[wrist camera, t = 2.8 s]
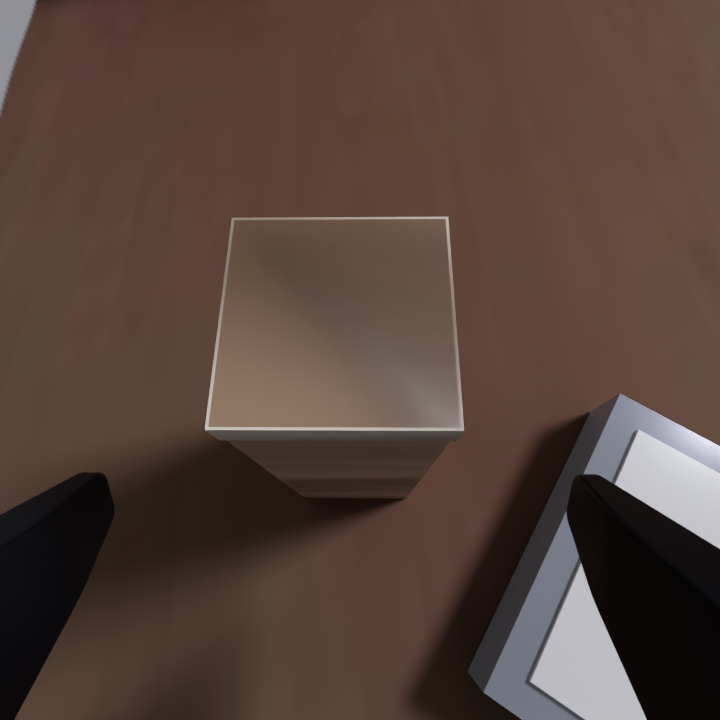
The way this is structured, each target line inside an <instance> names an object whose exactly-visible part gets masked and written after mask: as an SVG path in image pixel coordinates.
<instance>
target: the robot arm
mask: <svg viewBox="0 0 720 720" xmlns="http://www.w3.org/2000/svg"><path fill="white" fill-rule="evenodd" d="M566 513H567V520H568V524H569V527H570V530H571V533H572V536H573V539H574V542H575V545H576V548H577V552H578V555H579V558H580V561H581V564H582V567H583V570H584V573H585V576H586V579H587V582H588V585H589V588H590V591H591V594H592V597H593V599H594V602H595V604H596V606H597V609H598V611H599V614H600V616H601V618H602V620H603V622H604V625H605V627H606V629H607V631H608V634H609V636H610V638H611V640H612V643H613V645H614V647H615V649H616V652H617V654H618V656H619V658H620V661H621V663H622V665H623V667H624V670H625V672H626V674H627V676H628V679H629V681H630V683H631V685H632V688H633V690H634V692H635V694H636V697H637V699H638V701H639V703H640V706H641V708H642V710H643V712H644V715H645V717H646V719H647V720H720V549H719V548H718V547H716V546H714V545H713V544H711V543H709V542H708V541H706V540H704V539H703V538H701V537H700V536H698V535H696V534H695V533H693V532H691V531H690V530H688V529H687V528H685V527H683V526H682V525H680V524H678V523H677V522H675V521H674V520H672V519H670V518H669V517H667V516H665V515H664V514H662V513H660V512H659V511H657V510H656V509H654V508H652V507H651V506H649V505H647V504H646V503H644V502H643V501H641V500H639V499H638V498H636V497H634V496H633V495H631V494H630V493H628V492H626V491H625V490H623V489H621V488H620V487H618V486H616V485H615V484H613V483H612V482H610V481H608V480H607V479H605V478H603V477H602V476H600V475H597V474H578V475H576V476H575V477H574V479H573V481H572V486H571V490H570V495H569V499H568V504H567V511H566ZM113 517H114V503H113V499H112V496H111V492H110V489H109V485H108V481H107V478H106V476H105V475H104V474H102V473H99V472H84V473H79V474H77V475H75V476H73V477H71V478H69V479H67V480H65V481H64V482H62V483H60V484H58V485H56V486H54V487H52V488H50V489H48V490H47V491H45V492H43V493H41V494H39V495H37V496H35V497H33V498H31V499H29V500H28V501H26V502H24V503H22V504H20V505H18V506H16V507H14V508H12V509H11V510H9V511H7V512H5V513H3V514H1V515H0V720H14V719H15V717H16V715H17V714H18V712H19V710H20V708H21V706H22V704H23V702H24V701H25V699H26V697H27V695H28V693H29V691H30V689H31V687H32V686H33V684H34V682H35V680H36V678H37V676H38V674H39V673H40V671H41V669H42V667H43V665H44V663H45V661H46V660H47V658H48V656H49V654H50V652H51V650H52V648H53V646H54V645H55V643H56V641H57V639H58V637H59V635H60V633H61V632H62V630H63V628H64V626H65V624H66V622H67V620H68V619H69V617H70V615H71V613H72V611H73V609H74V607H75V605H76V603H77V601H78V599H79V597H80V596H81V594H82V591H83V589H84V587H85V585H86V583H87V580H88V578H89V575H90V573H91V571H92V568H93V566H94V563H95V561H96V559H97V556H98V554H99V551H100V549H101V547H102V544H103V542H104V539H105V537H106V535H107V532H108V530H109V527H110V525H111V522H112V520H113Z"/></svg>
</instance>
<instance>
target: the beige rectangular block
mask: <svg viewBox="0 0 720 720" xmlns="http://www.w3.org/2000/svg"><path fill="white" fill-rule="evenodd" d="M205 431H207V432H208V433H209V434H211V435H212V436H214V437H215V438H217V439H218V440H219V441H228V442H229V443H230V444H232V445H233V446H235V447H236V448H237V449H239V450H240V451H241V452H243V453H244V454H245V455H247V456H248V457H249V458H251V459H252V460H253V461H255V462H256V463H258V464H259V465H260V466H262V467H263V468H264V469H266V470H267V471H268V472H270V473H271V474H272V475H274V476H275V477H277V478H278V479H279V480H281V481H282V482H283V483H285V484H286V485H287V486H289V487H290V488H291V489H293V490H294V491H295V492H297V493H298V494H300V495H301V496H302V497H304V498H405V499H406V497H407V496H408V495H409V493H410V492H411V491H412V490H413V488H414V487H415V486H416V484H417V483H418V482H419V481H420V479H421V478H422V477H423V475H424V474H425V473H426V472H427V470H428V469H429V468H430V466H431V465H432V464H433V463H434V461H435V460H436V459H437V457H438V456H439V455H440V454H441V452H442V451H443V450H444V449H445V447H446V446H447V445H448V443H449V442H450V441H456V440H457V439H458V438H459V436H460V435H461V434H462V433H463V432H464V423H463V409H462V396H461V382H460V369H459V356H458V342H457V329H456V315H455V302H454V289H453V275H452V262H451V249H450V235H449V222H448V217H309V218H232V222H231V230H230V237H229V245H228V253H227V261H226V268H225V276H224V284H223V292H222V299H221V307H220V315H219V323H218V330H217V338H216V346H215V354H214V361H213V369H212V377H211V385H210V392H209V400H208V408H207V416H206V423H205Z"/></svg>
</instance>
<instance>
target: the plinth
mask: <svg viewBox="0 0 720 720" xmlns="http://www.w3.org/2000/svg"><path fill="white" fill-rule="evenodd" d="M578 474H597V475H600V476H602V477H603V478H605V479H607V480H608V481H610V482H612V483H613V484H615V485H616V486H618V487H620V488H621V489H623V490H625V491H626V492H628V493H630V494H631V495H633V496H634V497H636V498H638V499H639V500H641V501H643V502H644V503H646V504H647V505H649V506H651V507H652V508H654V509H656V510H657V511H659V512H660V513H662V514H664V515H665V516H667V517H669V518H670V519H672V520H674V521H675V522H677V523H678V524H680V525H682V526H683V527H685V528H687V529H688V530H690V531H691V532H693V533H695V534H696V535H698V536H700V537H701V538H703V539H704V540H706V541H708V542H709V543H711V544H713V545H714V546H716V547H718V548H719V549H720V446H718V445H716V444H714V443H712V442H711V441H709V440H707V439H705V438H703V437H701V436H699V435H697V434H695V433H694V432H692V431H690V430H688V429H686V428H684V427H682V426H680V425H678V424H677V423H675V422H673V421H671V420H669V419H667V418H665V417H663V416H661V415H660V414H658V413H656V412H654V411H652V410H650V409H648V408H646V407H644V406H643V405H641V404H639V403H637V402H635V401H633V400H631V399H629V398H627V397H626V396H624V395H622V394H619V395H617V396H615V397H614V398H612V399H610V400H609V401H607V402H605V403H604V404H602V405H600V406H599V407H597V408H595V409H594V410H592V411H591V412H590V414H589V416H588V418H587V420H586V422H585V424H584V426H583V428H582V430H581V433H580V435H579V437H578V439H577V441H576V443H575V445H574V447H573V449H572V452H571V454H570V456H569V458H568V460H567V462H566V464H565V466H564V468H563V471H562V473H561V475H560V477H559V479H558V481H557V483H556V485H555V487H554V490H553V492H552V494H551V496H550V498H549V500H548V502H547V504H546V506H545V509H544V511H543V513H542V515H541V517H540V519H539V521H538V523H537V525H536V528H535V530H534V532H533V534H532V536H531V538H530V540H529V542H528V544H527V547H526V549H525V551H524V553H523V555H522V557H521V559H520V561H519V563H518V566H517V568H516V570H515V572H514V574H513V576H512V578H511V580H510V582H509V585H508V587H507V589H506V591H505V593H504V595H503V597H502V599H501V601H500V604H499V606H498V608H497V610H496V612H495V614H494V616H493V618H492V620H491V623H490V625H489V627H488V629H487V631H486V633H485V635H484V637H483V639H482V642H481V644H480V646H479V648H478V650H477V652H476V654H475V656H474V658H473V661H472V663H471V665H470V667H469V669H468V671H467V672H468V673H469V675H470V676H471V677H472V678H473V680H474V681H475V682H476V683H477V685H478V686H479V687H480V689H481V690H482V691H483V692H484V693H485V694H486V695H488V696H489V697H491V698H492V699H493V700H495V701H496V702H498V703H499V704H500V705H502V706H503V707H505V708H506V709H507V710H509V711H510V712H512V713H513V714H514V715H516V716H517V717H519V718H520V719H521V720H647V719H646V717H645V715H644V712H643V710H642V708H641V706H640V703H639V701H638V699H637V697H636V694H635V692H634V690H633V688H632V685H631V683H630V681H629V679H628V676H627V674H626V672H625V670H624V667H623V665H622V663H621V661H620V658H619V656H618V654H617V652H616V649H615V647H614V645H613V643H612V640H611V638H610V636H609V634H608V631H607V629H606V627H605V625H604V622H603V620H602V618H601V616H600V614H599V611H598V609H597V606H596V604H595V602H594V599H593V597H592V594H591V591H590V588H589V585H588V582H587V579H586V576H585V573H584V570H583V567H582V564H581V561H580V558H579V555H578V552H577V548H576V545H575V542H574V539H573V536H572V533H571V530H570V527H569V524H568V520H567V513H566V511H567V504H568V499H569V495H570V490H571V486H572V481H573V479H574V477H575V476H576V475H578Z"/></svg>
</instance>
